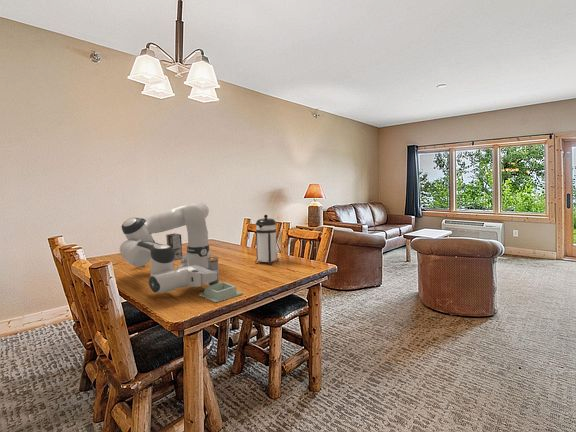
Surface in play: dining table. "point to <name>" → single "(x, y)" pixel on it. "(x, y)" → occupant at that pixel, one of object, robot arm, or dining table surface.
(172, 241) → the coffee box
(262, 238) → the coffee press
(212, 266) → the pin
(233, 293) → the green square tray
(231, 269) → the dining table surface
